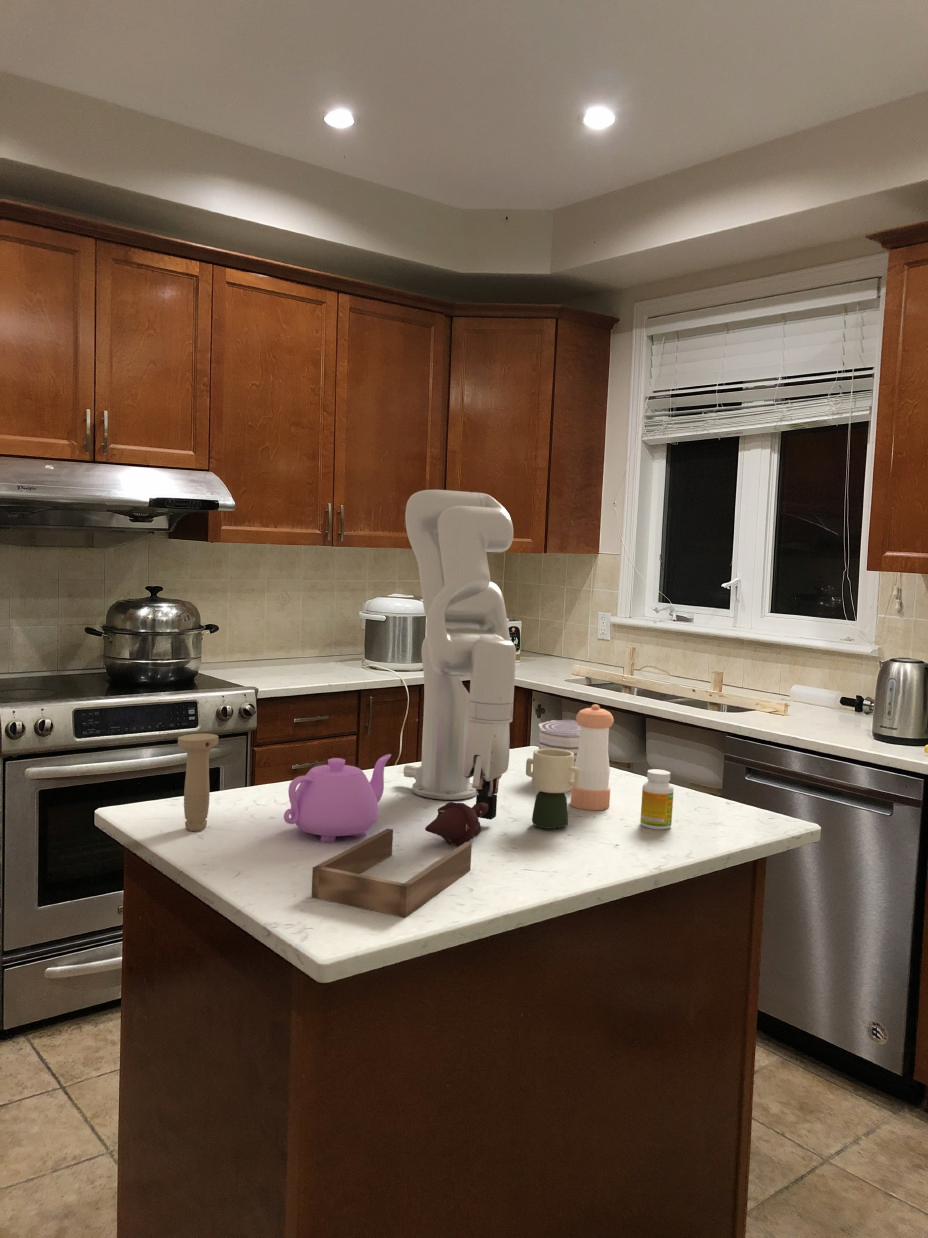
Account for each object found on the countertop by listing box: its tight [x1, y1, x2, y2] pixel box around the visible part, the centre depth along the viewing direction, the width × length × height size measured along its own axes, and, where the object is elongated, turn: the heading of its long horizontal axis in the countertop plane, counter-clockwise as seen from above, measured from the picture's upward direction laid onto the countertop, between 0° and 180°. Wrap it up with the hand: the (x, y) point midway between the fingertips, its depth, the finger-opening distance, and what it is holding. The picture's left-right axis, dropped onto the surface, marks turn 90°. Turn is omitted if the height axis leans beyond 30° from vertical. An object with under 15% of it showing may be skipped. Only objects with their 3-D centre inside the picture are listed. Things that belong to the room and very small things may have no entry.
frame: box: [311, 827, 473, 918], centre depth 134 cm, size 14×21×4 cm, turn 157°
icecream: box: [424, 801, 488, 847], centre depth 153 cm, size 7×7×15 cm
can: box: [538, 719, 580, 766], centre depth 198 cm, size 11×11×12 cm
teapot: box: [283, 753, 392, 844], centre depth 156 cm, size 20×14×12 cm
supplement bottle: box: [639, 768, 675, 831], centre depth 169 cm, size 5×5×10 cm
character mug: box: [525, 748, 581, 829], centre depth 165 cm, size 11×7×13 cm, turn 52°
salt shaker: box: [570, 703, 615, 811], centre depth 180 cm, size 7×7×19 cm
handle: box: [177, 732, 219, 832], centre depth 154 cm, size 5×6×15 cm
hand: (485, 817), depth 164 cm, fingers closed
